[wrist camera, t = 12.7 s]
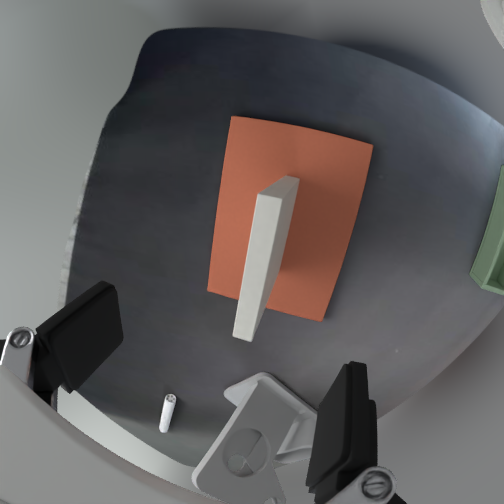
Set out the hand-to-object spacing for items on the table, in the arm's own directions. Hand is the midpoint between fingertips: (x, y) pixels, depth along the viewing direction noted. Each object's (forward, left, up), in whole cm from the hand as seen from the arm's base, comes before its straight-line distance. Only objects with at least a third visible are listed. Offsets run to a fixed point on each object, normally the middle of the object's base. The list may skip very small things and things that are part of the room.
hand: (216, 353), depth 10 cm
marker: (+45, -14, -20) cm, 52 cm away
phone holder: (+30, +6, -20) cm, 37 cm away
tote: (-7, +26, -20) cm, 33 cm away
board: (0, 0, -19) cm, 19 cm away
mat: (0, 0, -20) cm, 20 cm away
